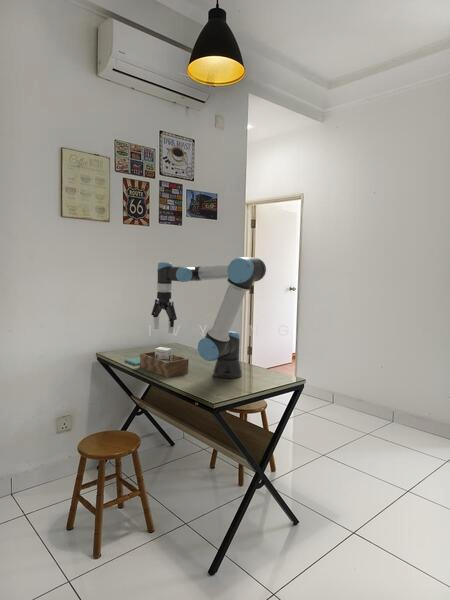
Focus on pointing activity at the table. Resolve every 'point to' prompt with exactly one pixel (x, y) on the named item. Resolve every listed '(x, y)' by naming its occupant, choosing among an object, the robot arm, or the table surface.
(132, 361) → the zone mat
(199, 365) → the table surface
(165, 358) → the ink box
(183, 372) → the crate
